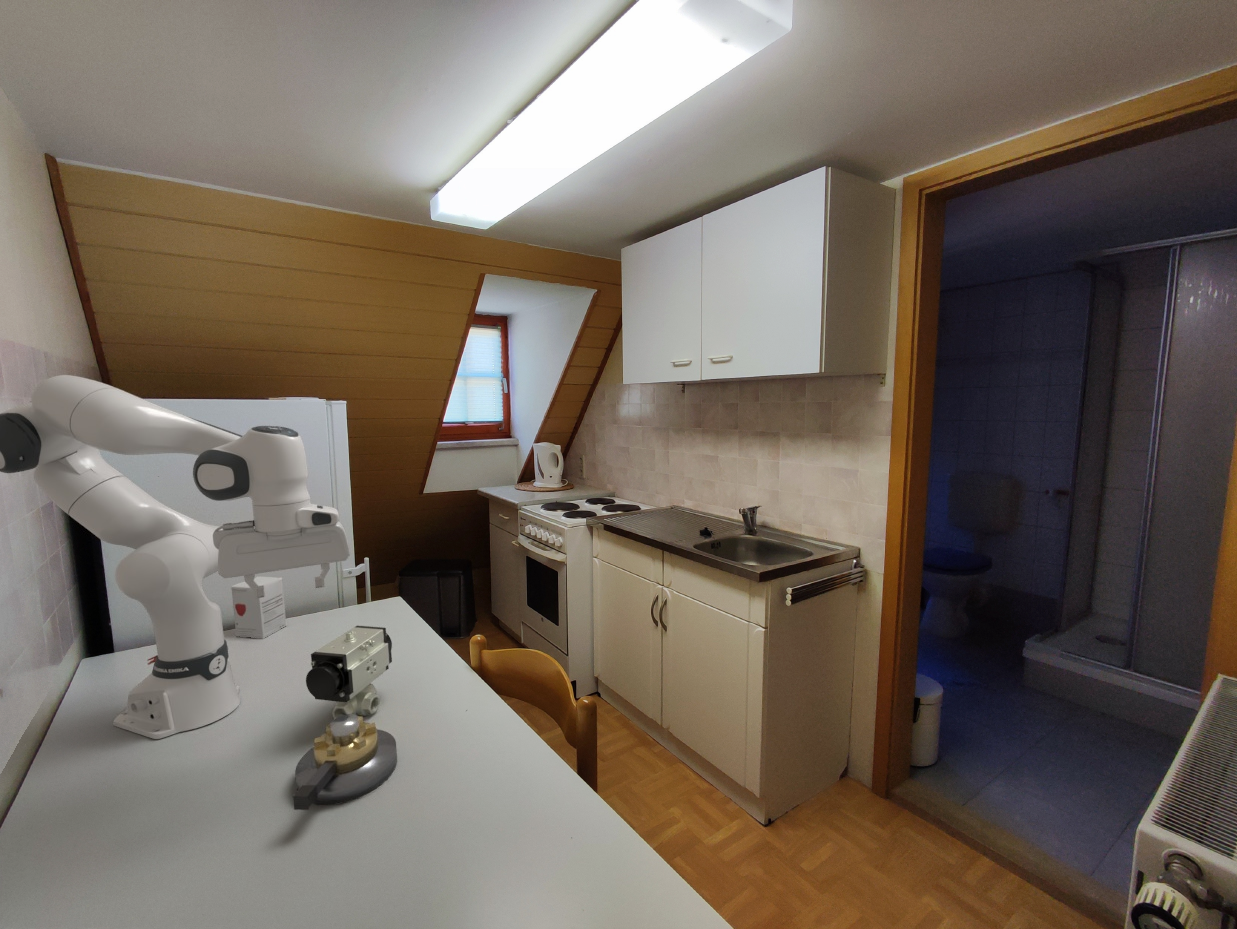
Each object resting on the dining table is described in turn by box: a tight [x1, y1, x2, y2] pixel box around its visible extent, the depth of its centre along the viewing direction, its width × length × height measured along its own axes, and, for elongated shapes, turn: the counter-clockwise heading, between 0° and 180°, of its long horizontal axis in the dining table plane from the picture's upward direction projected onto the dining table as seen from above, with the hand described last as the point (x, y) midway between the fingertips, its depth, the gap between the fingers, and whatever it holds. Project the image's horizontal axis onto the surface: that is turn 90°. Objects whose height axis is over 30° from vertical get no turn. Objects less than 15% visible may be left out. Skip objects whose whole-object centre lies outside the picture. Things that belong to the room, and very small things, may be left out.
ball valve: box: [305, 625, 393, 720], centre depth 114 cm, size 18×8×18 cm, turn 168°
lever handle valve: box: [292, 716, 378, 811], centre depth 92 cm, size 18×10×4 cm, turn 179°
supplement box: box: [230, 575, 287, 640], centre depth 156 cm, size 9×9×15 cm
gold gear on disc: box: [294, 714, 398, 806], centre depth 97 cm, size 16×16×10 cm
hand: (290, 591), depth 99 cm, fingers open, 8 cm apart
